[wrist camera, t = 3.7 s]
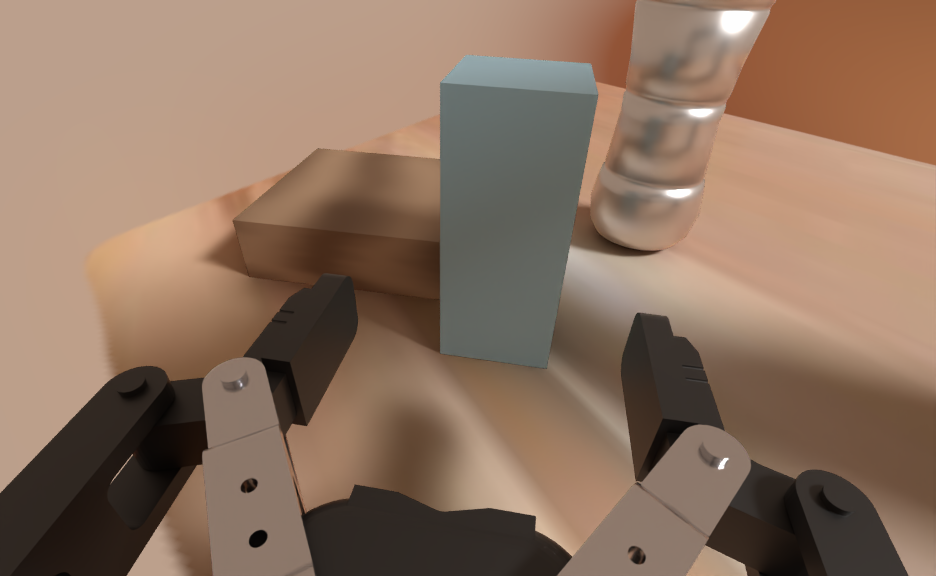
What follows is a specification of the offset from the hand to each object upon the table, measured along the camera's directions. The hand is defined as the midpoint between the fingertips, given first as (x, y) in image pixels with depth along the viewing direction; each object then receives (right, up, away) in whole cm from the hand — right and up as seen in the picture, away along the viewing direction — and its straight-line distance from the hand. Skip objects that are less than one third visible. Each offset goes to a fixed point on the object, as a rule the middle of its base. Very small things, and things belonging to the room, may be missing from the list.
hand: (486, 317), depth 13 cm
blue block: (+1, -1, +10) cm, 11 cm away
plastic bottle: (+11, +4, +18) cm, 22 cm away
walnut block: (-7, +4, +17) cm, 19 cm away
